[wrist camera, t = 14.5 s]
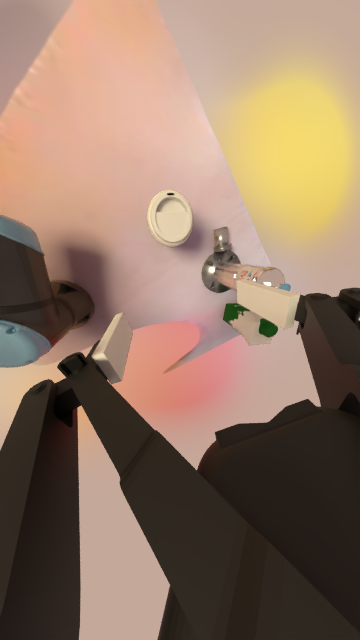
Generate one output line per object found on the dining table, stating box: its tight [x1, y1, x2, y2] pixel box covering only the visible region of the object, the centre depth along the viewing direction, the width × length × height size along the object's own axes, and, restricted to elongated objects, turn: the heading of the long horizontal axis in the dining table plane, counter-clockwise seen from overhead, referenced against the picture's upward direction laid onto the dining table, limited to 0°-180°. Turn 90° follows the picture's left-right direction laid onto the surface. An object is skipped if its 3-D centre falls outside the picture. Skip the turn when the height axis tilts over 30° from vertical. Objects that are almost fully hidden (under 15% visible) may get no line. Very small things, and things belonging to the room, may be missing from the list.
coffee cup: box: [147, 190, 193, 247], centre depth 32 cm, size 10×10×15 cm
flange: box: [202, 227, 240, 293], centre depth 44 cm, size 14×20×5 cm
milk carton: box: [223, 303, 278, 345], centre depth 47 cm, size 9×9×20 cm
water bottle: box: [214, 263, 290, 291], centre depth 36 cm, size 7×7×25 cm
